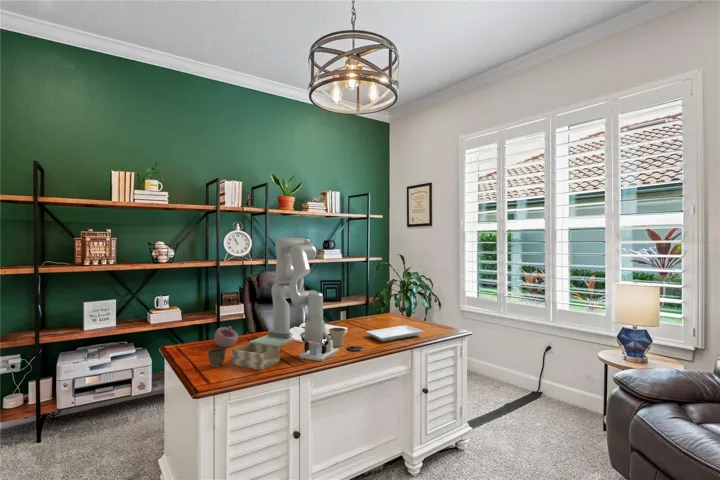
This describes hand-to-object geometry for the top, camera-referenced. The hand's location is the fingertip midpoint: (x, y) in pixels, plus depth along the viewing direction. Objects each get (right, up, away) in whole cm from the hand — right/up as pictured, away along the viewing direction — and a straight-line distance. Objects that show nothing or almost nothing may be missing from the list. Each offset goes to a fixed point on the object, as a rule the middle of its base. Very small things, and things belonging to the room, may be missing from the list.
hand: (315, 352), depth 183 cm
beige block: (+6, -1, +6) cm, 8 cm away
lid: (-21, +5, -1) cm, 22 cm away
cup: (-43, -2, -16) cm, 46 cm away
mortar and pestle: (-49, -2, +15) cm, 52 cm away
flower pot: (+10, -2, +19) cm, 21 cm away
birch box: (-26, -2, -11) cm, 28 cm away
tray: (+43, -2, +39) cm, 58 cm away
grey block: (0, -1, 0) cm, 1 cm away
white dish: (+2, -2, +3) cm, 4 cm away
